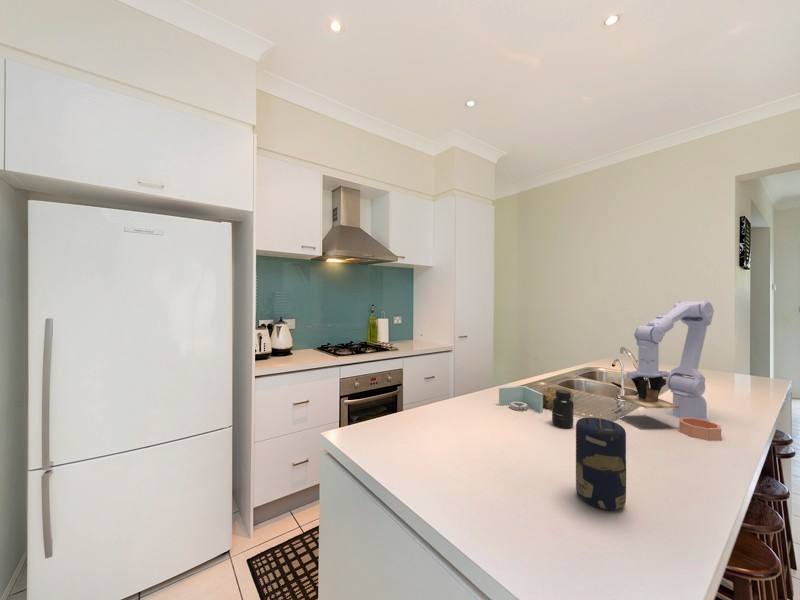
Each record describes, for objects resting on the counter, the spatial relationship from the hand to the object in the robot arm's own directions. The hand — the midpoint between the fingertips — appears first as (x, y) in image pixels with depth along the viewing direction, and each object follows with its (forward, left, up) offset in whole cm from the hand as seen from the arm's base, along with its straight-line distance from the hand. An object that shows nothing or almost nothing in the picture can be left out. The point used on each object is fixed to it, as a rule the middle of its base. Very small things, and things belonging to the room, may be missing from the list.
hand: (648, 398), depth 117 cm
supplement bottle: (+31, -1, -10) cm, 32 cm away
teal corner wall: (+38, -19, -10) cm, 44 cm away
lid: (0, 0, -2) cm, 2 cm away
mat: (+1, -1, -9) cm, 9 cm away
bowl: (-9, +10, -9) cm, 16 cm away
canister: (+47, +41, -10) cm, 63 cm away
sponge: (+20, -25, -10) cm, 33 cm away
